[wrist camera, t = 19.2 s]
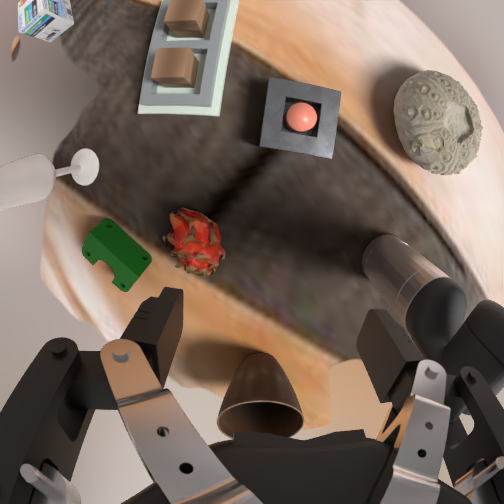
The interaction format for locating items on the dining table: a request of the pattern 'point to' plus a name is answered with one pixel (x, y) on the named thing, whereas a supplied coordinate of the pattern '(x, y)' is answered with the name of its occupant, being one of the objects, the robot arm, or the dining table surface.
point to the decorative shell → (437, 122)
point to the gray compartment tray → (209, 69)
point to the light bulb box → (44, 18)
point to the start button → (300, 117)
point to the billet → (175, 67)
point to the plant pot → (260, 400)
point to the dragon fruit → (195, 241)
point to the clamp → (116, 253)
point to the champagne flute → (41, 177)
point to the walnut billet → (187, 18)
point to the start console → (309, 141)
